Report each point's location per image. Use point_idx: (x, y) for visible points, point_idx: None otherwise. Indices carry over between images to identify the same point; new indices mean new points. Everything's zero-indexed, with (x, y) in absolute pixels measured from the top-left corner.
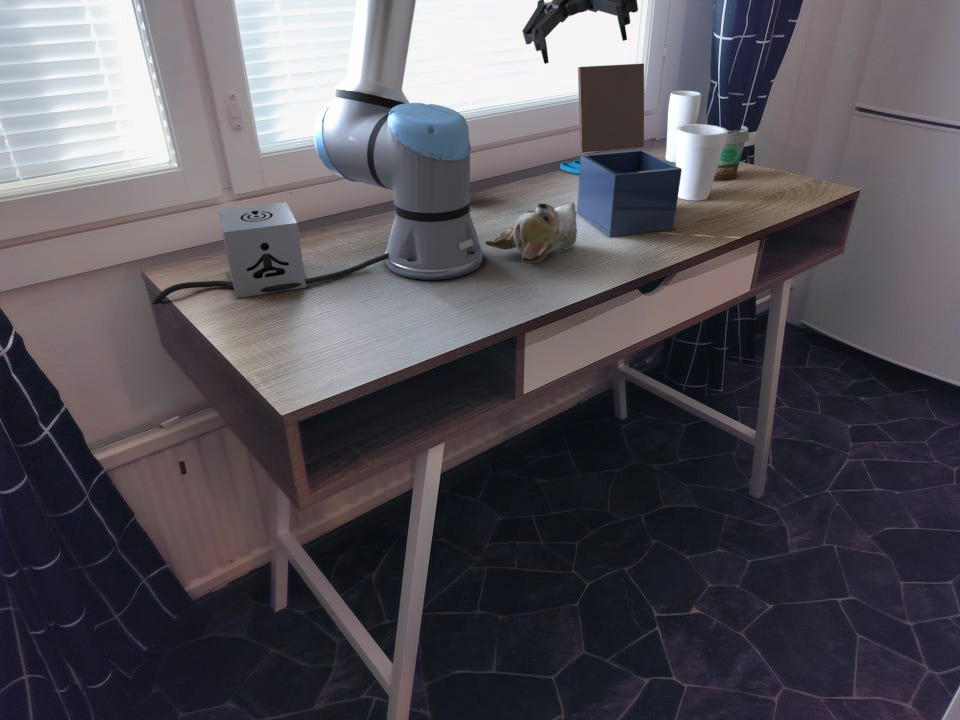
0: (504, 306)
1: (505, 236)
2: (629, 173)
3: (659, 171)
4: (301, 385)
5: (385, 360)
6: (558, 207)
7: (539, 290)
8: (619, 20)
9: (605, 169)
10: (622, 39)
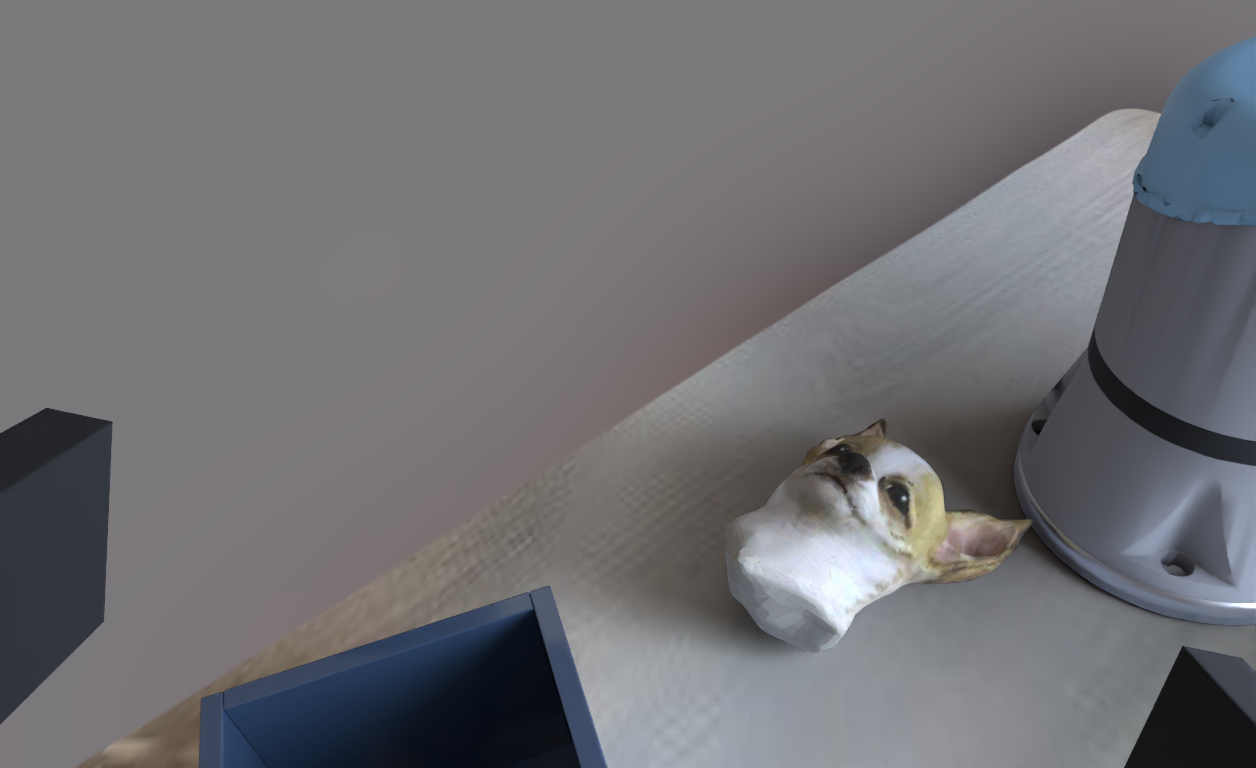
0: (891, 320)
1: (974, 556)
2: (478, 613)
3: (326, 658)
4: (1144, 136)
5: (1051, 182)
6: (794, 563)
7: (821, 381)
8: (3, 483)
9: (575, 667)
10: (89, 628)
